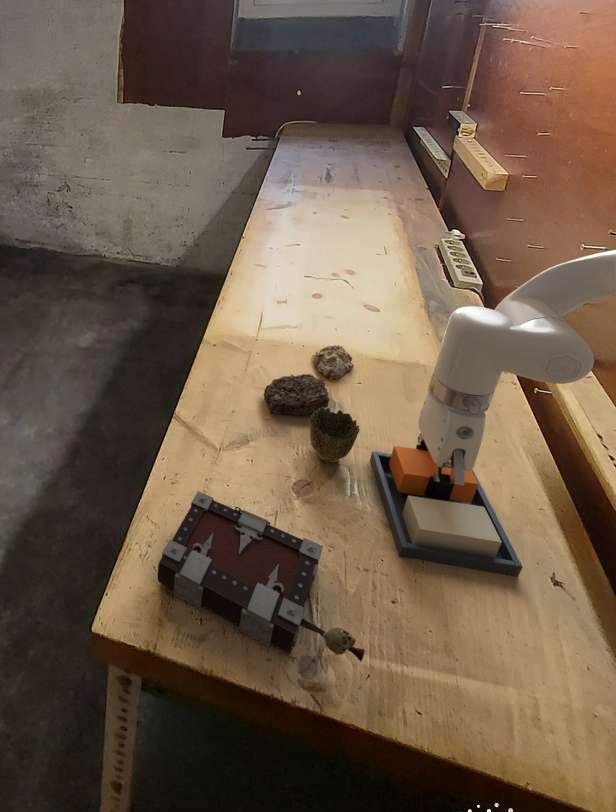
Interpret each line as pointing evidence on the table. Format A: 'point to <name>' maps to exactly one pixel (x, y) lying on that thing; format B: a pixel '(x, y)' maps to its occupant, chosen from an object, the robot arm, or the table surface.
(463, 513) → the beige block
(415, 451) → the orange rectangular block
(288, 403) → the dark brown rough stone
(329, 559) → the table surface
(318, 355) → the mineral rock
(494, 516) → the tray
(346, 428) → the cup
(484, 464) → the table surface
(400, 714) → the table surface
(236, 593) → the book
